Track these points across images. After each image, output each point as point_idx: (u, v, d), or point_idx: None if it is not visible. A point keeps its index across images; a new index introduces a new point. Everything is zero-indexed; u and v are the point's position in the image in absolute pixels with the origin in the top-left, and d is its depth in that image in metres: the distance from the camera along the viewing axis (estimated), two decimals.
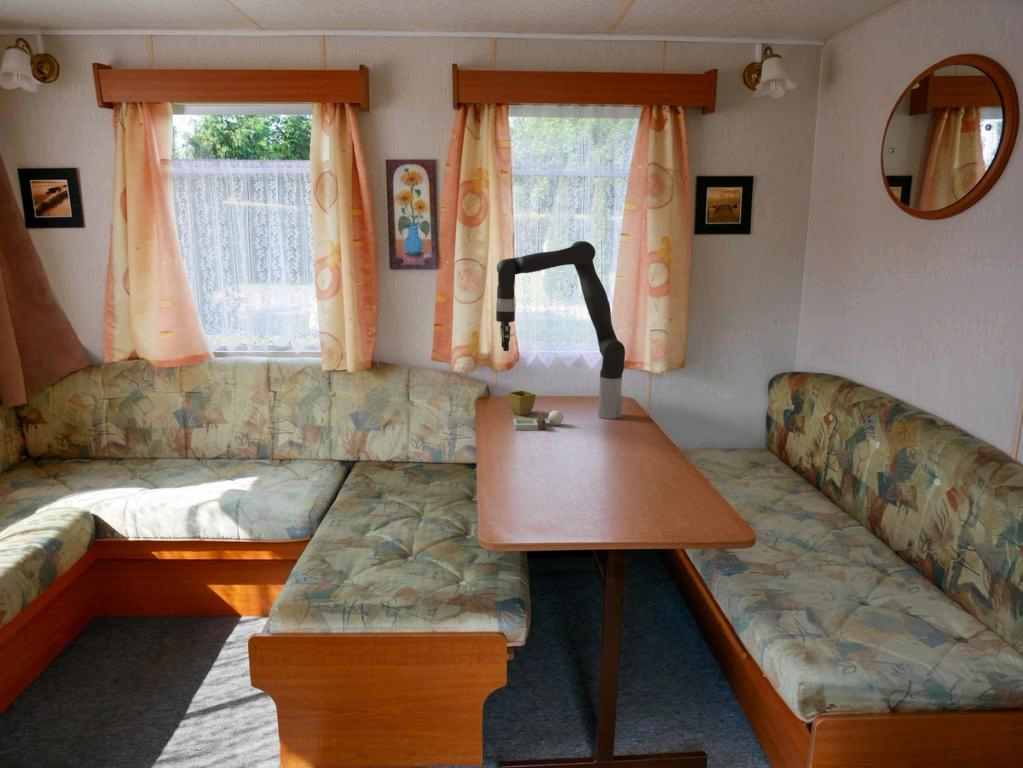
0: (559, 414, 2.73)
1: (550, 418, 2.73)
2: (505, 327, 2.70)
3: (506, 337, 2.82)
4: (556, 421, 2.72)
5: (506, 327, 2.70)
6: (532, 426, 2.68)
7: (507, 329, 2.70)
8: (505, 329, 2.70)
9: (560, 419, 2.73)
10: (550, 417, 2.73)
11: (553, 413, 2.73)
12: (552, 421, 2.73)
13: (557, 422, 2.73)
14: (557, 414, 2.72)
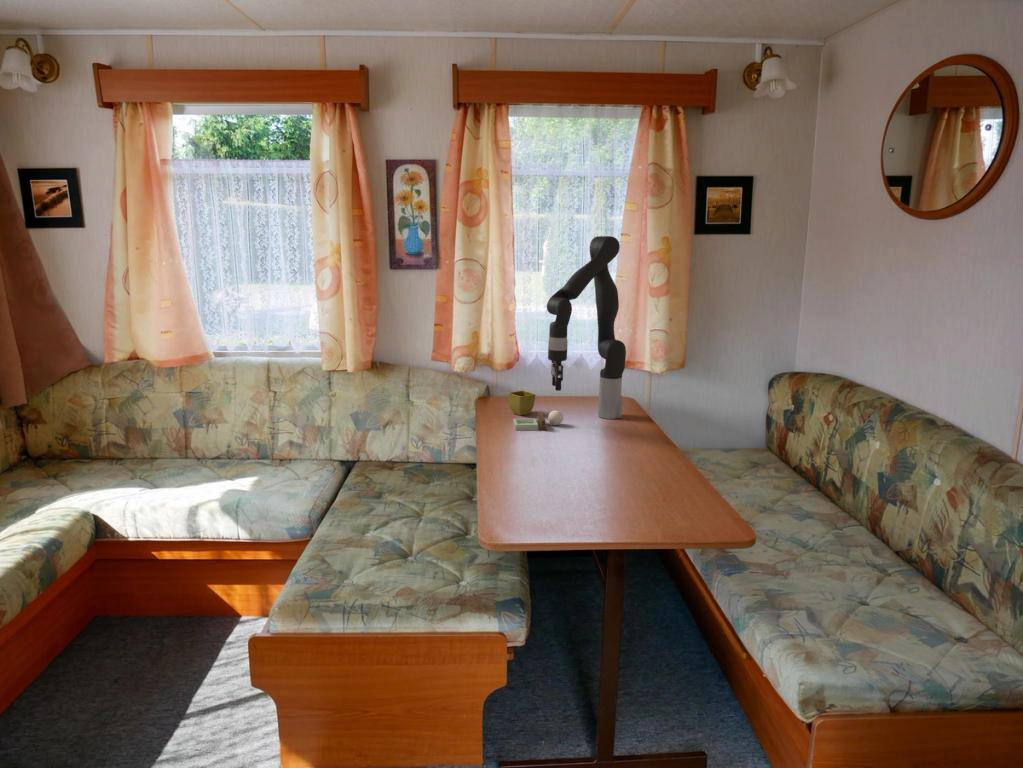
0: (559, 414, 2.73)
1: (550, 418, 2.73)
2: (558, 367, 2.63)
3: None
4: (556, 421, 2.72)
5: (559, 367, 2.63)
6: (532, 426, 2.68)
7: (560, 369, 2.64)
8: (558, 369, 2.63)
9: (560, 419, 2.73)
10: (550, 417, 2.73)
11: (553, 413, 2.73)
12: (552, 421, 2.73)
13: (557, 422, 2.73)
14: (557, 414, 2.72)
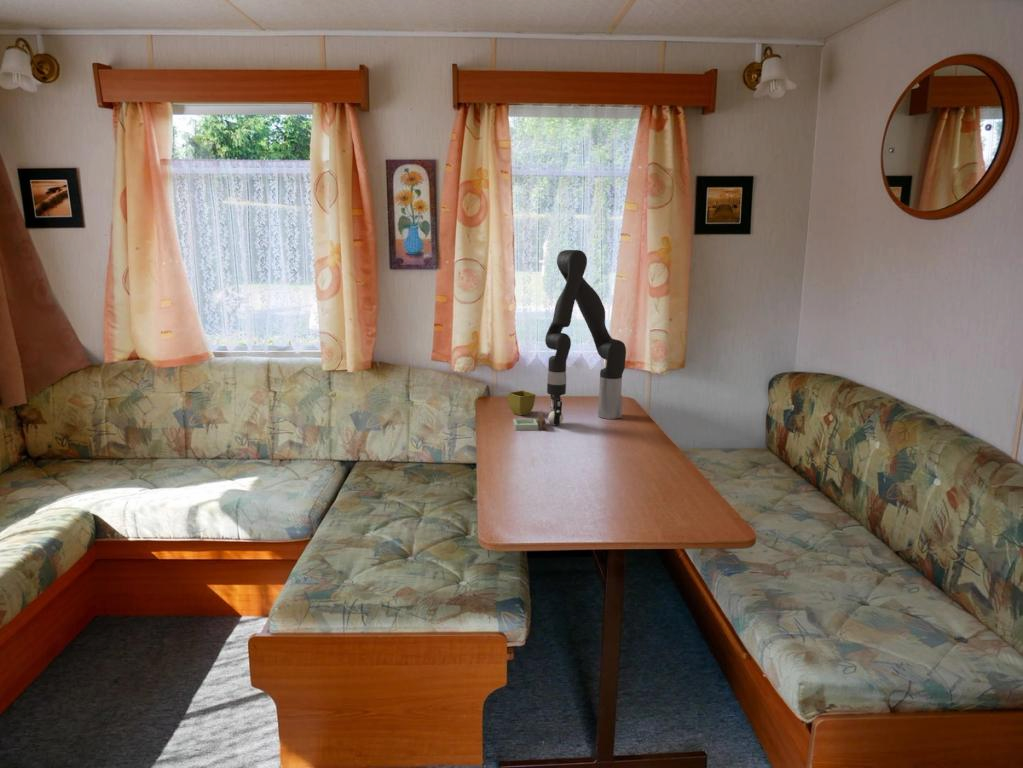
0: None
1: (550, 418, 2.73)
2: (557, 403, 2.67)
3: None
4: None
5: (558, 403, 2.67)
6: (532, 426, 2.68)
7: (559, 405, 2.67)
8: (557, 405, 2.67)
9: (560, 419, 2.73)
10: (550, 417, 2.73)
11: (553, 413, 2.73)
12: (552, 421, 2.73)
13: None
14: None
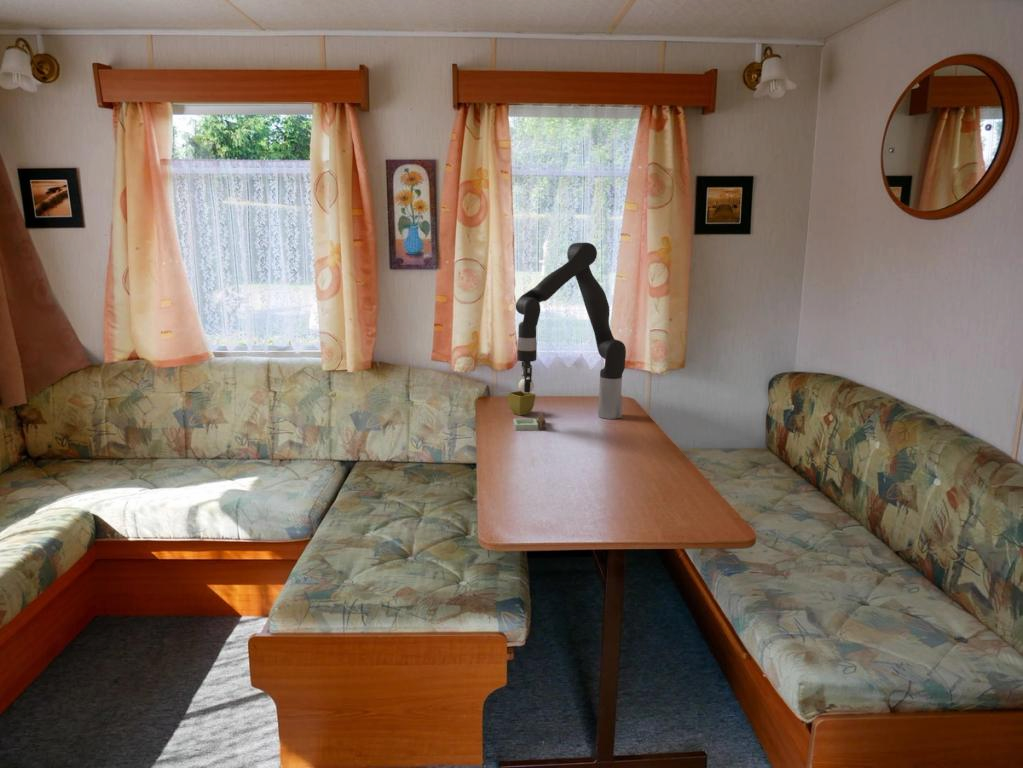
0: None
1: (520, 386, 2.67)
2: (527, 369, 2.60)
3: None
4: None
5: (528, 369, 2.60)
6: (532, 426, 2.68)
7: (529, 371, 2.61)
8: (527, 371, 2.61)
9: (530, 387, 2.66)
10: (521, 385, 2.67)
11: (523, 380, 2.67)
12: (522, 389, 2.66)
13: None
14: None
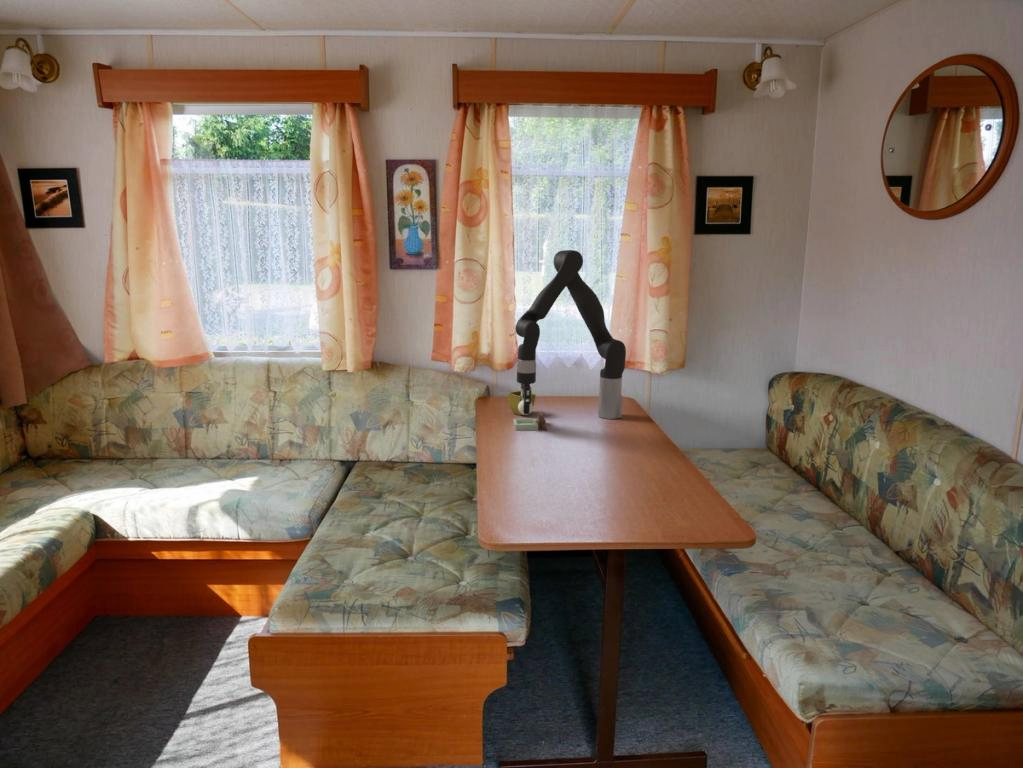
0: None
1: (520, 407, 2.69)
2: (526, 391, 2.62)
3: (526, 399, 2.73)
4: None
5: (527, 391, 2.62)
6: (532, 426, 2.68)
7: (528, 393, 2.63)
8: (526, 393, 2.63)
9: (530, 408, 2.68)
10: (520, 406, 2.68)
11: (523, 402, 2.69)
12: (521, 410, 2.68)
13: None
14: None
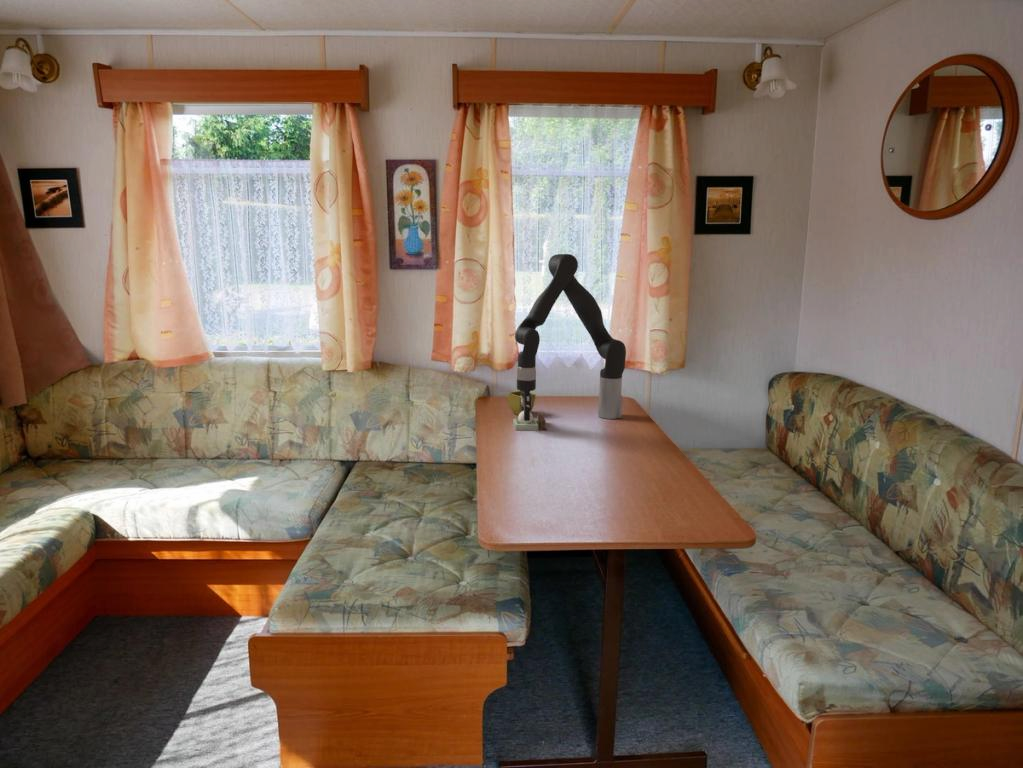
0: None
1: (520, 418, 2.70)
2: (526, 397, 2.63)
3: None
4: (526, 421, 2.69)
5: (527, 397, 2.63)
6: (532, 426, 2.68)
7: (528, 399, 2.63)
8: (526, 399, 2.63)
9: (530, 419, 2.69)
10: (520, 417, 2.69)
11: (523, 413, 2.70)
12: (522, 421, 2.69)
13: (527, 422, 2.69)
14: None
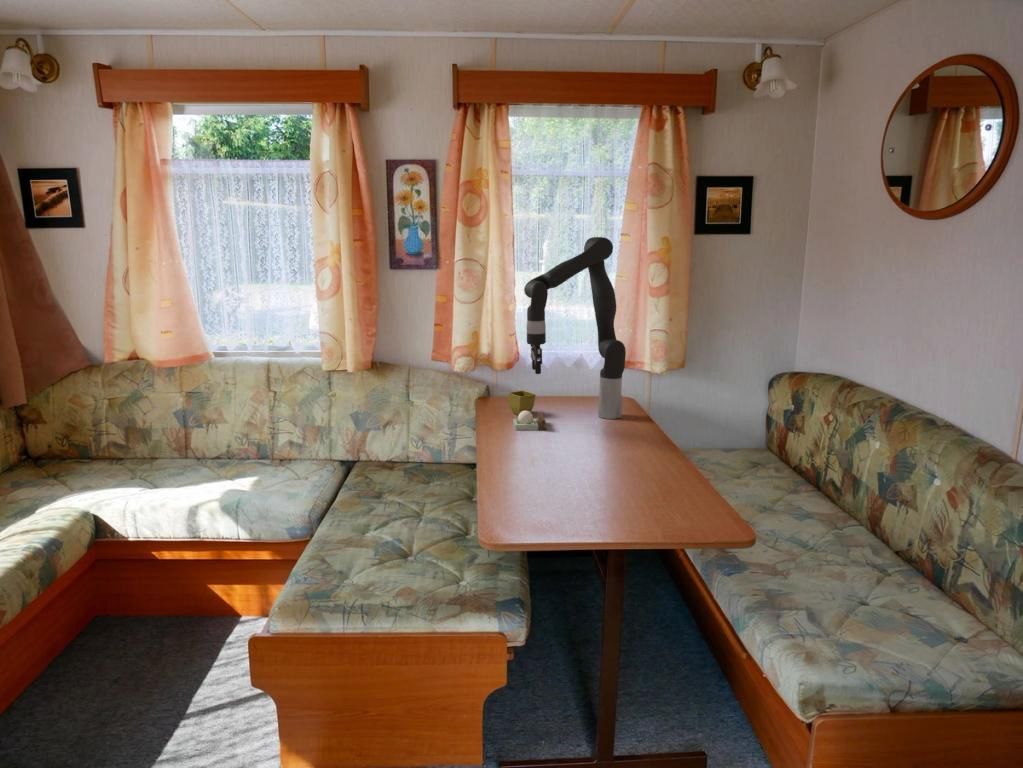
0: (529, 414, 2.69)
1: (520, 418, 2.70)
2: (537, 350, 2.64)
3: None
4: (526, 421, 2.69)
5: (538, 350, 2.64)
6: (532, 426, 2.68)
7: (539, 352, 2.64)
8: (537, 352, 2.64)
9: (530, 419, 2.69)
10: (520, 417, 2.69)
11: (523, 413, 2.70)
12: (522, 421, 2.69)
13: (527, 422, 2.69)
14: (527, 414, 2.69)
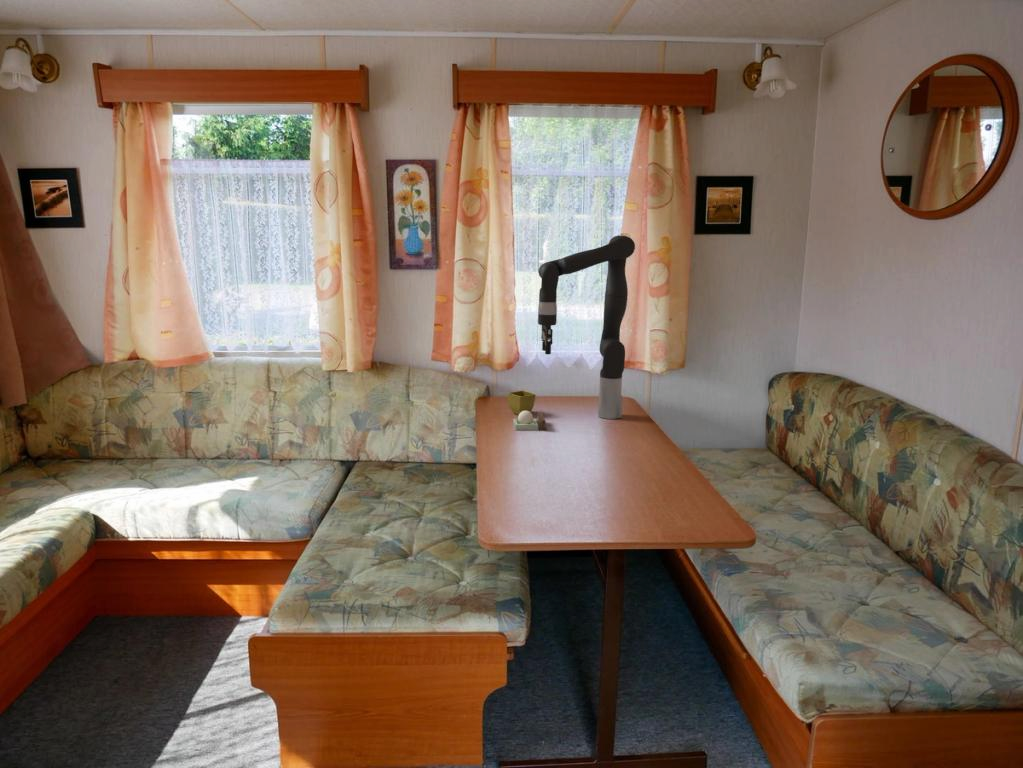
0: (529, 414, 2.69)
1: (520, 418, 2.70)
2: (548, 330, 2.70)
3: None
4: (526, 421, 2.69)
5: (549, 330, 2.70)
6: (532, 426, 2.68)
7: (550, 332, 2.70)
8: (548, 332, 2.70)
9: (530, 419, 2.69)
10: (520, 417, 2.69)
11: (523, 413, 2.70)
12: (522, 421, 2.69)
13: (527, 422, 2.69)
14: (527, 414, 2.69)
